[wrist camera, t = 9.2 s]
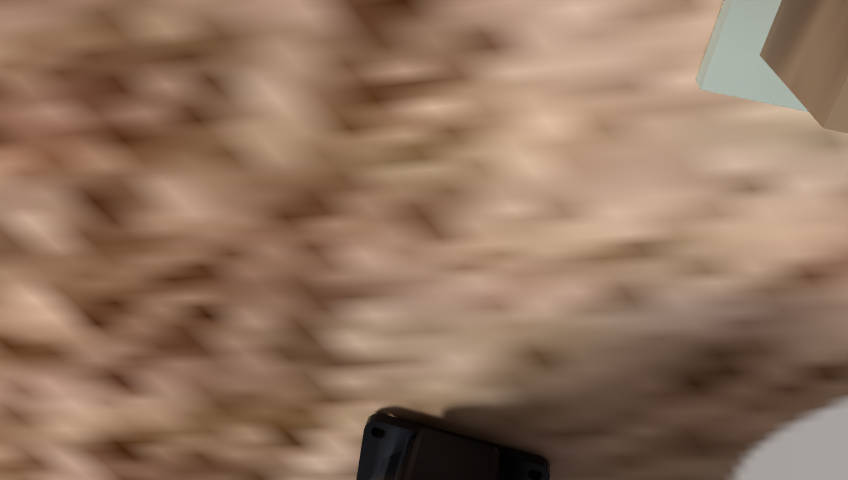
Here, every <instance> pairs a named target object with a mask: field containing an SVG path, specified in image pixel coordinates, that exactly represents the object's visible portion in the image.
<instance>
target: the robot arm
mask: <svg viewBox="0 0 848 480" xmlns="http://www.w3.org/2000/svg"><path fill="white" fill-rule="evenodd" d="M376 427H380V428H382V429H383V430H379V429H377V428H376ZM532 469H537V470H539V471H533V470H532ZM549 479H550V464H549V462H548V461H547V460H546V459H545V458H543V457H541V456H538V455H534V454H531V453H527V452H523V451H519V450H516V449H512V448H508V447H504V446H501V445H497V444H493V443H489V442H486V441H482V440H478V439H474V438H471V437H467V436H463V435H459V434H456V433H452V432H448V431H444V430H441V429H437V428H433V427H429V426H426V425H422V424H418V423H414V422H410V421H407V420H403V419H399V418H395V417H392V416H388V415H384V414H373V415H371V416H370V417H369V418H368V421H367V423H366V426H365V428H364V434H363V440H362V447H361V453H360V460H359V467H358V473H357V480H549Z"/></svg>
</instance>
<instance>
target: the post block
mask: <svg viewBox="0 0 848 480" xmlns="http://www.w3.org/2000/svg"><path fill="white" fill-rule="evenodd" d="M781 1H782V0H724V3H723V6H722V9H721V11H720V14H719V17H718V20H717V23H716V25H715V28H714V31H713V34H712V37H711V39H710V42H709V45H708V48H707V51H706V53H705V56H704V59H703V62H702V65H701V67H700V70H699V73H698V76H697V79H696V82H697V84H698V86H699V88H700V89H701V90H705V91H710V92H715V93H720V94H725V95H729V96H734V97H739V98H744V99H749V100H753V101H758V102H763V103H768V104H773V105H777V106H782V107H787V108H792V109H797V110H802V111H806V112H809V111H808V110H807V109H806V108H805V107H804V106H803V104H802V103H801V102H800V101H799V100H798V99H797V98H796V96H795V95H794V94H793V93H792V92H791V91H790V90H789V88H788V87H787V86H786V85H785V84H784V83H783V82H782V80H781V79H780V78H779V77H778V76H777V75H776V74H775V72H774V71H773V70H772V69H771V68H770V67H769V66H768V64H767V63H766V62H765V61H764V60H763V59H762V58H761V56H760V53H761V50H762V48H763V45H764V43H765V40H766V38H767V35H768V33H769V30H770V28H771V26H772V23H773V21H774V18H775V16H776V13H777V11H778V8H779V6H780V3H781Z"/></svg>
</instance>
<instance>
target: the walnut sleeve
mask: <svg viewBox="0 0 848 480" xmlns="http://www.w3.org/2000/svg"><path fill="white" fill-rule="evenodd" d="M760 56H761V58H762V59H763V60H764V61H765V62H766V63H767V64H768V66H769V67H770V68H771V69H772V70H773V71H774V72H775V74H776V75H777V76H778V77H779V78H780V79H781V80H782V82H783V83H784V84H785V85H786V86H787V87H788V88H789V90H790V91H791V92H792V93H793V94H794V95H795V96H796V98H797V99H798V100H799V101H800V102H801V103H802V104H803V106H804V107H805V108H806V109H807V110H808V111H809V112H810V114H811V115H812V116H813V117H814V118H815V119H816V120H817V122H818V123H819V124H820V125H821V126H822V127H823V128H826V129H831V130H835V131H840V132H844V133H848V0H782V1H781V3H780V6H779V8H778V11H777V13H776V16H775V18H774V21H773V23H772V26H771V28H770V30H769V33H768V35H767V38H766V40H765V43H764V45H763V48H762V50H761V53H760Z"/></svg>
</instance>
